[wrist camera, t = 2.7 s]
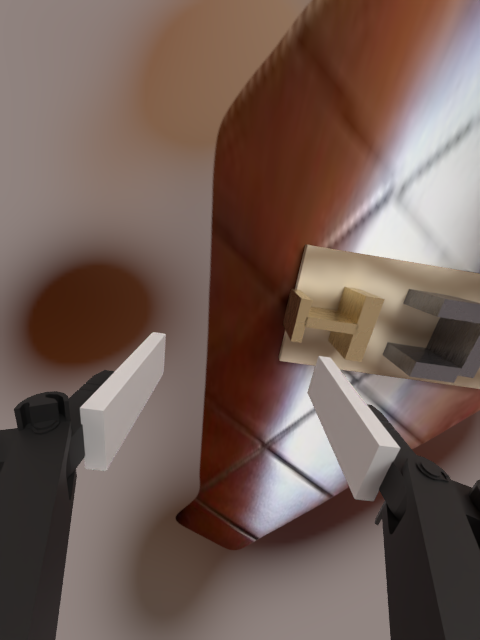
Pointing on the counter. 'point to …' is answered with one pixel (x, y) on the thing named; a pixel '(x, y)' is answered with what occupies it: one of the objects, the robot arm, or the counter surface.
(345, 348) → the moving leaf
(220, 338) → the counter surface
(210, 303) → the counter surface
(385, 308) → the mounting board
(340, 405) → the robot arm
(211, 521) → the counter surface
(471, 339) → the dark grey hollow housing
